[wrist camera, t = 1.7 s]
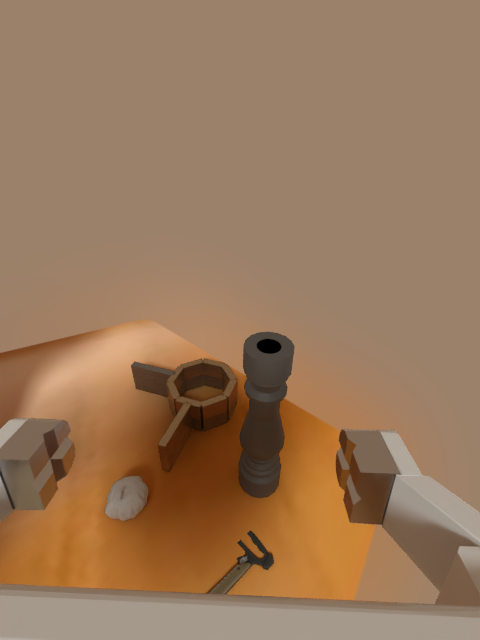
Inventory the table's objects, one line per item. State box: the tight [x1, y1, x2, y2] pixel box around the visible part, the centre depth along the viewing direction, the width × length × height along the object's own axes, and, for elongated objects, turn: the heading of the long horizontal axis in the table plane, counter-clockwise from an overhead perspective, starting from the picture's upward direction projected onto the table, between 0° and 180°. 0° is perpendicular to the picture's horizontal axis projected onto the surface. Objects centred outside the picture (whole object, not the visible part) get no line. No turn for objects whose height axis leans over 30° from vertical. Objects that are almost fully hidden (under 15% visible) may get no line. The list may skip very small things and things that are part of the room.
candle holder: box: [239, 332, 294, 498], centre depth 43 cm, size 6×6×25 cm
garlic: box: [105, 476, 148, 521], centre depth 45 cm, size 6×5×5 cm
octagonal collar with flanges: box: [131, 359, 237, 471], centre depth 59 cm, size 20×20×6 cm
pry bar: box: [208, 530, 274, 594], centre depth 37 cm, size 21×7×1 cm, turn 129°
